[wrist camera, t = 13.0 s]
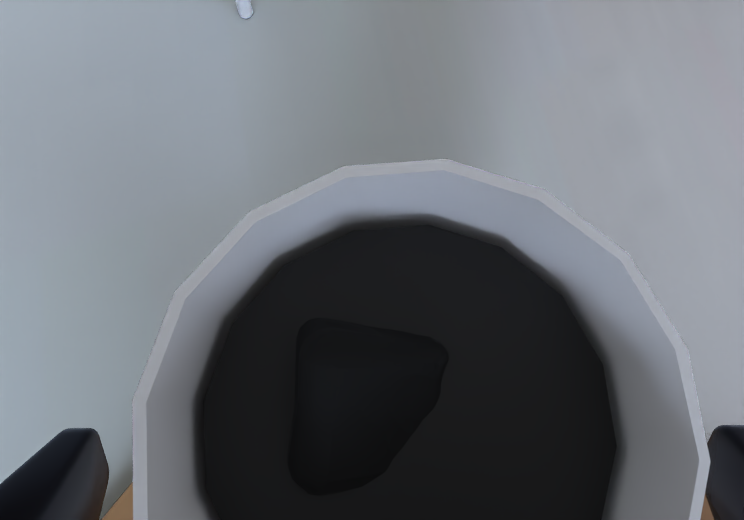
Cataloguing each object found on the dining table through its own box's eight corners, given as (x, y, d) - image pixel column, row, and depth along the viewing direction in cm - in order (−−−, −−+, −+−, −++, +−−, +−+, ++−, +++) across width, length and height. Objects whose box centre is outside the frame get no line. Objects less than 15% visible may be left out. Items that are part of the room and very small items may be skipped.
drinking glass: (240, 523, 16) (69, 734, 6) (275, 276, 17) (182, 128, 8) (490, 549, 16) (716, 797, 6) (505, 302, 17) (706, 187, 8)
